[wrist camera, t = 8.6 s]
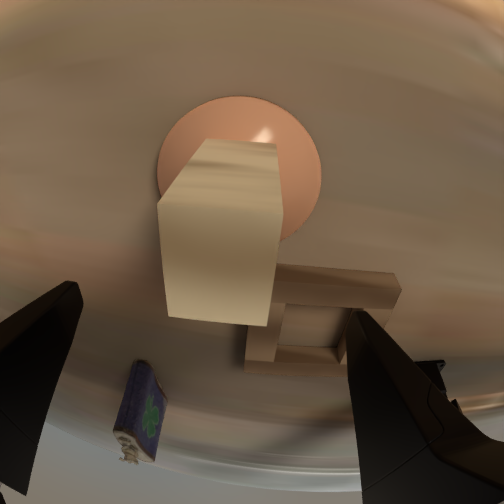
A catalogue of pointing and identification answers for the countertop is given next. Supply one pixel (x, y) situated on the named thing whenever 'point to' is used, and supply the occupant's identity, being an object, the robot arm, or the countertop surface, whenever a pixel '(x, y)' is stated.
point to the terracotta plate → (255, 130)
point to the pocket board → (317, 294)
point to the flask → (141, 414)
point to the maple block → (222, 233)
